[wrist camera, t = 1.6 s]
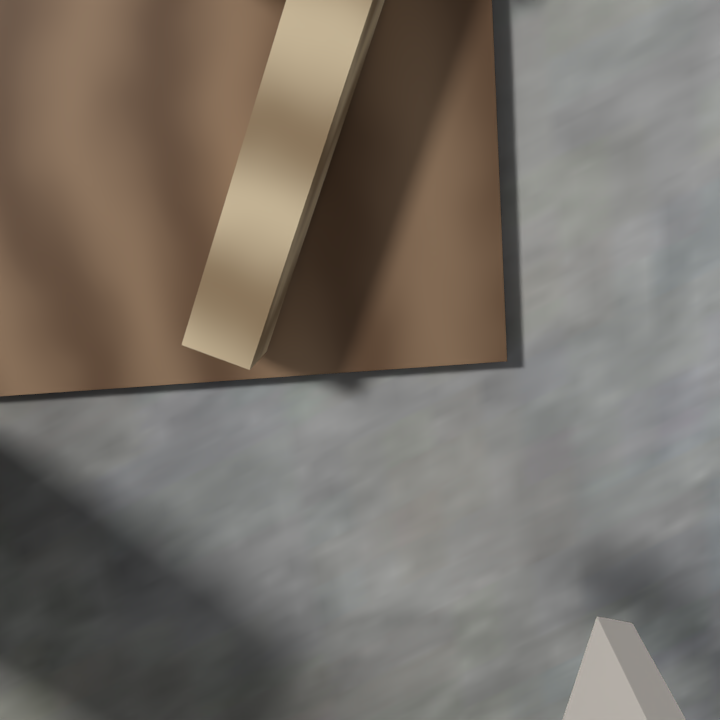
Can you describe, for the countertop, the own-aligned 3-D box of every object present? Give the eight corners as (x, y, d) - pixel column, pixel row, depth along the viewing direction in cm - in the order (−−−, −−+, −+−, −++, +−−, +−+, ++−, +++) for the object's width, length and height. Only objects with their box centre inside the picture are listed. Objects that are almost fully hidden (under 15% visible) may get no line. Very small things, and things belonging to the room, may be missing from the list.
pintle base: (471, -388, 26) (493, -593, 19) (504, 356, 33) (529, 398, 26) (-187, -279, 29) (-373, -428, 22) (-35, 393, 35) (-142, 441, 28)
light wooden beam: (357, -247, 26) (349, -313, 23) (479, -200, 26) (490, -259, 23) (185, 321, 32) (158, 336, 29) (286, 358, 32) (272, 378, 29)
